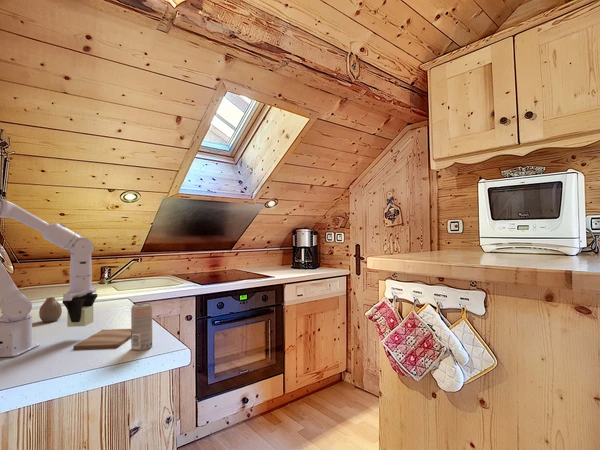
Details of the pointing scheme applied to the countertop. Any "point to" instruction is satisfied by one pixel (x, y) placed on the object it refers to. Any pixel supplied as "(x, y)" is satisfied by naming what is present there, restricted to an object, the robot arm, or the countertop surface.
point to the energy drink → (141, 326)
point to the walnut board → (105, 339)
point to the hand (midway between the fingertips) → (80, 319)
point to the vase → (50, 310)
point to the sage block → (82, 317)
